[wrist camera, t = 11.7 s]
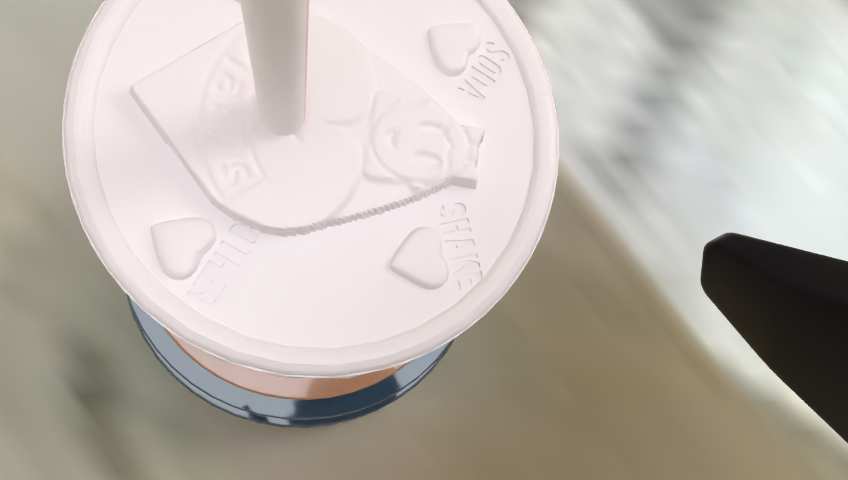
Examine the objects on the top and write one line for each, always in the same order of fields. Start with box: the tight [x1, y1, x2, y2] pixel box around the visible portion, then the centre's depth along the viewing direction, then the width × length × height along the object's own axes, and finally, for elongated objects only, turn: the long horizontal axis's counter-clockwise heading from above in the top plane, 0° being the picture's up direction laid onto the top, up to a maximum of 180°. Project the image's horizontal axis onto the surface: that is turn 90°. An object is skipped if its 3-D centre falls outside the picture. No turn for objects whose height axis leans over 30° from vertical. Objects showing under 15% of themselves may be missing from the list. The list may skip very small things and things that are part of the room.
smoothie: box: [62, 0, 559, 378], centre depth 11 cm, size 6×6×14 cm
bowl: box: [126, 294, 456, 428], centre depth 20 cm, size 11×11×4 cm
